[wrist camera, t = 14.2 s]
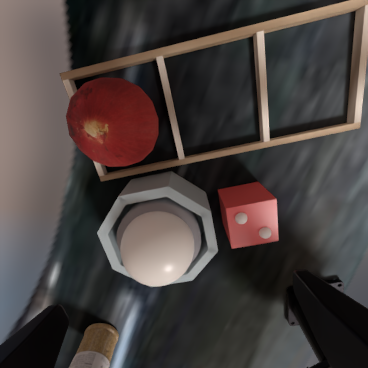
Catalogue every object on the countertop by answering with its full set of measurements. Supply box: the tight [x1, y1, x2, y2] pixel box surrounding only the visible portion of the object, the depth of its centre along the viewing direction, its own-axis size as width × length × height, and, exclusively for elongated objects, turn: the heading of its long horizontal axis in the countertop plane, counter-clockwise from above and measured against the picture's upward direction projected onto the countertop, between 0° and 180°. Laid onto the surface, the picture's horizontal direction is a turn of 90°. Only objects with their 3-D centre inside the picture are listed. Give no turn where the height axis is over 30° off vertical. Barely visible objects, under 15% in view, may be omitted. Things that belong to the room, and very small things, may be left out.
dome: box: [117, 197, 201, 286], centre depth 16 cm, size 7×7×6 cm
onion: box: [66, 77, 159, 167], centre depth 13 cm, size 6×6×8 cm
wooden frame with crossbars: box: [60, 0, 368, 181], centre depth 16 cm, size 9×23×1 cm, turn 102°
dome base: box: [97, 171, 279, 287], centre depth 18 cm, size 10×15×4 cm, turn 102°
